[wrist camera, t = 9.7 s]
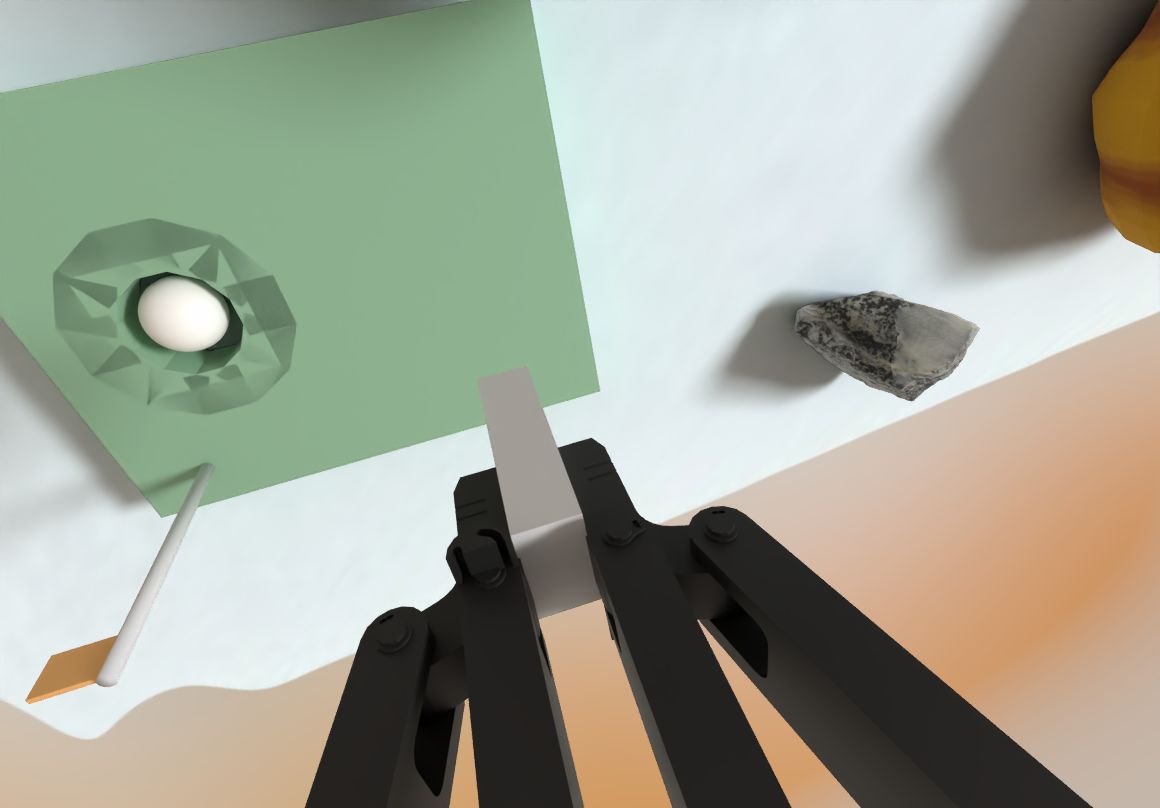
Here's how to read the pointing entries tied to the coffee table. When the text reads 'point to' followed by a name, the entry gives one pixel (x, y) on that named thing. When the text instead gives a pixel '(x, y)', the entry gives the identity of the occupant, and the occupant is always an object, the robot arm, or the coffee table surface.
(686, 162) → the coffee table surface
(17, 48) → the coffee table surface
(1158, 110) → the decorative pumpkin
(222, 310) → the ball
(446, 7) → the green
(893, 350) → the stone
